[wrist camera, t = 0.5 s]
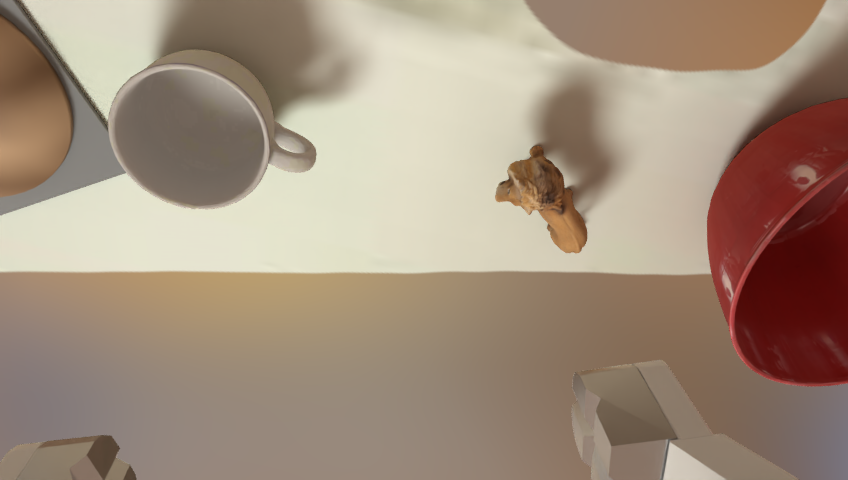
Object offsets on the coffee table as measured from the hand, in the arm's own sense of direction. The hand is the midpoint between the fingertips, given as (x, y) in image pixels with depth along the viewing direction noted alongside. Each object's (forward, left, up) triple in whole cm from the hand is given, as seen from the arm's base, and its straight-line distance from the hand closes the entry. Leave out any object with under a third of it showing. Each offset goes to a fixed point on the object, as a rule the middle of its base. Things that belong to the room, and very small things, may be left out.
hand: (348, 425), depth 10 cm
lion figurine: (+22, +11, -38) cm, 46 cm away
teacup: (+6, -12, -38) cm, 41 cm away
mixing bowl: (+31, +36, -38) cm, 61 cm away
